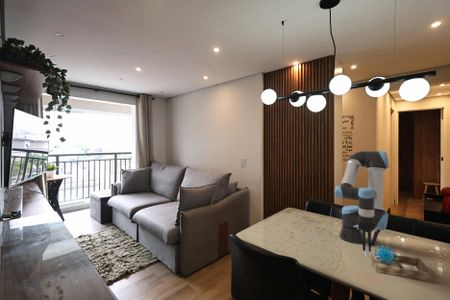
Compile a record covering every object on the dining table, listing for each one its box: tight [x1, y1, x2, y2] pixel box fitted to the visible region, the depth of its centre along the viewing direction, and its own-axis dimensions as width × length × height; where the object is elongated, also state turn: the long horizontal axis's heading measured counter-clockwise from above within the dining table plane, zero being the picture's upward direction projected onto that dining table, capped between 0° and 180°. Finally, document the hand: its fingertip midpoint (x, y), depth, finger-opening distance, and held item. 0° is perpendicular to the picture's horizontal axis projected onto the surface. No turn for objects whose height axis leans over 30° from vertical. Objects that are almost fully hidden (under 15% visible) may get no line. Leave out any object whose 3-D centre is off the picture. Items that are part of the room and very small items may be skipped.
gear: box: [373, 244, 399, 264], centre depth 119 cm, size 11×6×10 cm
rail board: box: [369, 254, 434, 283], centre depth 116 cm, size 23×16×4 cm
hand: (366, 256), depth 122 cm, fingers closed
